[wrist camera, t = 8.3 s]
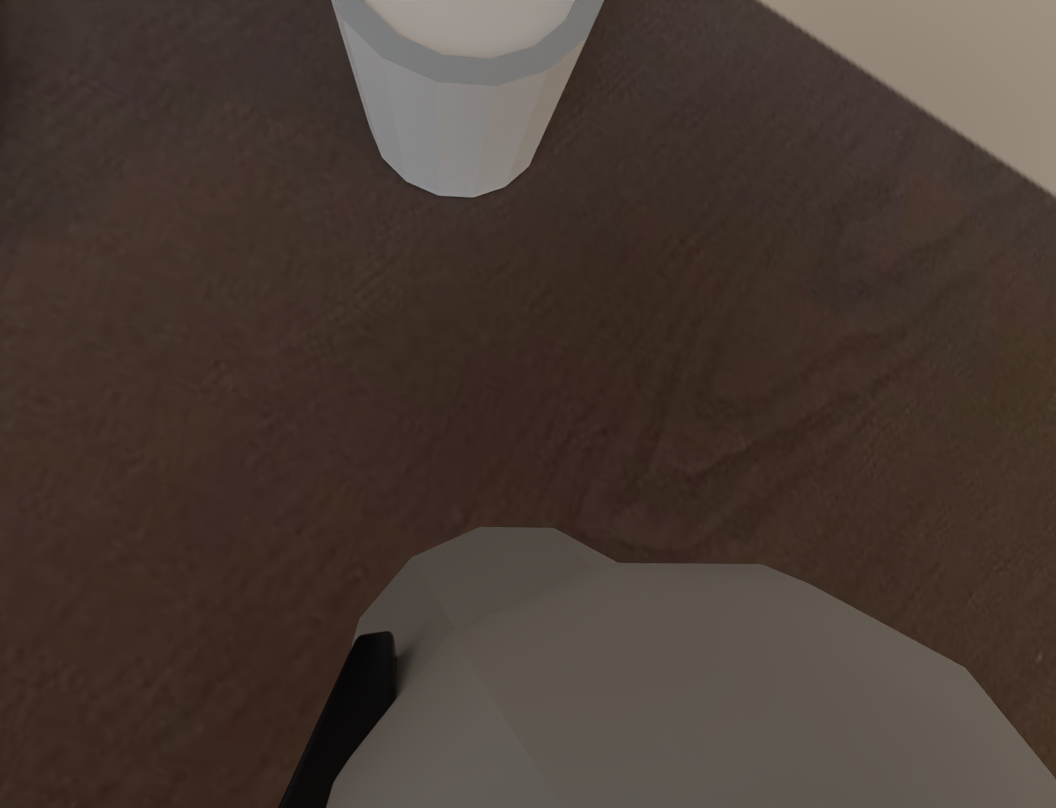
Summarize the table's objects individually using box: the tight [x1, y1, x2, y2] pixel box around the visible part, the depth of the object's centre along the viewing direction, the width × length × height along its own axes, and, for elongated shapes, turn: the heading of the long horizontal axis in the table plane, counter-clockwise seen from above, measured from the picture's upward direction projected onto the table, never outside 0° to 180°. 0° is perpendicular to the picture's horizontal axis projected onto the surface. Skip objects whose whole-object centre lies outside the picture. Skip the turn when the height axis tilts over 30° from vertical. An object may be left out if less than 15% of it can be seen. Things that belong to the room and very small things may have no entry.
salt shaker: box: [326, 527, 1056, 808], centre depth 9 cm, size 6×6×13 cm
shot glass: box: [331, 0, 604, 197], centre depth 22 cm, size 7×7×7 cm
